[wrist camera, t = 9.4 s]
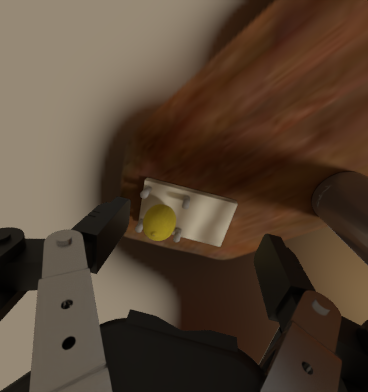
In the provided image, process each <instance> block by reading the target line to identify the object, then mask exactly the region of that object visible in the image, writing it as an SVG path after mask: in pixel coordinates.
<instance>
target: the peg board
mask: <svg viewBox="0 0 368 392" xmlns="http://www.w3.org/2000/svg"><path fill="white" fill-rule="evenodd" d="M140 196H141V198H142V202H141V209H140V215H139V222H138V225H137V226H136V228H135V231H136V232H141V231H142V229H143V219H144V216H145V214H146V212H147V211H148V210H149V209H150V208H151V207H152V206H154V205H157V204H165V205H167V206H169V207H171V208H172V209H173V211H174V212H175V215H176V226H175V229H174V231H173V232H172V235H174V238H173V240H174V242H179V241H180V237H184V238H188V239H192V240H196V241H199V242H203V243H207V244H211V245H215V246H219V247H220V246H221V244H222V241H223V239H224V236H225V234H226V231H227V229H228V226H229V224H230V221H231V219H232V217H233V214H234V212H235V209H236V207H237V201H236V200H233V199H229V198H225V197H221V196H217V195H213V194H210V193H206V192H202V191H198V190H194V189H190V188H186V187H182V186H179V185H175V184H171V183H167V182H163V181H159V180H155V179H151V178H148V177H147V178H146V179H145V182H144V189H143V191H142V192H141V194H140Z"/></svg>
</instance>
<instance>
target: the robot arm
mask: <svg viewBox="0 0 368 392" xmlns="http://www.w3.org/2000/svg"><path fill="white" fill-rule="evenodd" d="M130 205H131V201H130V199H126V198H122V197H116V198H115V199H114V200H113V201H112V202H111V203H107V202H106V203H103V204H101V205H98V206H97V207H96V208H95V209H94V210H93V211H92V212H90V213H89V214H88V216H86V217H84V218H83V219H82V220H81V221H80V222H79V223H78V224H76V225H75V226H74V227H73V228H72V229H71V230H61V231H57V232H54V233H52V234H51V235H49V236H48V237H47V238H46V239H25V236H24V232H23V231H22V230H20V229H18V228H0V321H1V320H2V319H3V318H4V317H5V316H6V314H7V313H8V312H9V311H10V310H11V309H12V308H13V307H14V305H16V303H17V302H18V301H19V300H20V299H21V298H22V297H23V296H24V294H26V292H27V291H29V290H38V292H37V304H36V317H35V328H34V341H33V353H32V366H31V371H29V372H28V373H26V374H25V375H23V376H22V377H21V378H19V379H18V380H16V381H15V382H13V383H12V384H10V385H9V386H7V387H6V388H4V389H3V390H1V391H0V392H368V320H367V321H365V322H364V323H363V324H362V325H359V324H356V323H355V322H352V321H351V320H348V319H347V318H345V317H343V316H341V314H340V311H339V310H338V308H337V307H336V306H335V305H334V303H333V302H331V301H330V300H329V299H328V298H326V297H325V296H323V295H322V294H320V293H318V292H316V291H315V289H314V287H313V286H312V284H311V282H310V280H309V278H308V276H307V275H306V273H305V272H304V270H303V268H302V266H301V264H300V262H299V260H298V259H297V257H296V255H295V254H294V253H293V252H292V251H291V250H290V249H289V248H287V247H286V246H285V244H284V242H283V240H282V238H281V237H279V236H275V235H271V234H265V235H264V237H263V239H262V241H261V243H260V245H259V247H258V249H257V251H256V253H255V256H254V266H255V269H256V273H257V277H258V281H259V284H260V288H261V292H262V296H263V300H264V303H265V307H266V311H267V315H268V318H269V320H273V321H277V322H279V324H280V327H279V328H278V330H277V332H276V333H275V335H274V337H273V339H272V341H271V343H270V345H269V347H268V349H267V350H266V352H265V354H264V356H263V358H262V360H261V362H260V364H259V365H258V364H257V363H256V362H255V361H254V360H253V359H252V358H251V357H250V356H248V355H247V354H246V353H245V352H243V351H242V350H240V349H239V348H238V346H237V338H236V337H234V336H230V335H226V334H222V333H219V332H215V331H211V330H207V331H206V330H204V331H203V330H201V331H182V330H180V329H178V328H176V327H174V326H173V325H171V324H169V323H167V322H166V321H164V320H162V319H160V318H159V317H157V316H153V315H150V314H146V313H143V312H139V311H135V310H130V312H129V314H128V317H127V318H121V319H115V320H111V321H108V322H105V323H103V324H100V325H99V320H98V315H97V309H96V303H95V297H94V291H93V285H92V280H91V274H90V272H91V273H95V274H97V273H98V271H99V270H100V268H101V267H102V265H103V264H104V262H105V261H106V260H107V258H108V257H109V255H110V254H111V252H112V251H113V249H114V248H115V246H116V245H117V243H118V242H119V241H120V239H121V238H122V236H123V235H124V233H125V232H126V230H127V227H128V224H129V216H130ZM312 208H313V210H314V212H315V213H316V214H317V215H318V216H319V217H320V218H321V219H322V220H323V221H324V222H325V223H326V224H327V225H328V226H329V227H330V228H331V229H332V230H333V231H334V232H335V233H336V234H337V235H338V236H339V237H340V238H341V239H342V240H343V241H344V242H345V243H346V244H347V245H348V246H349V247H350V248H351V249H352V250H353V251H354V252H355V253H356V254H357V255H358V256H359V257H360V258H361V259H362V260H363V261H364V262H365V263H366V264H367V265H368V177H367V176H365V175H363V174H360V173H357V172H341V173H338V174H335V175H333V176H330V177H328V178H327V179H326V180H324V181H323V182H322V183H321V184H320V185H319V186H318V187H317V188H316V190H315V191H314V194H313V196H312Z"/></svg>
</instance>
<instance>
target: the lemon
mask: <svg viewBox="0 0 368 392" xmlns="http://www.w3.org/2000/svg"><path fill="white" fill-rule="evenodd" d="M175 226H176V215H175V212H174V211H173V209H172V208H171V207H169V206H167V205H165V204H157V205H154V206H152V207H151V208H150V209H149V210H148V211H147V212H146V214H145V216H144V219H143V230H144V233H145V234H146V236H147V237H148V238H150V239H152V240H155V241H161V240H164V239H166V238H168V237H169V236H170V235H171V234H172V232H173V231H174V229H175Z"/></svg>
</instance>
